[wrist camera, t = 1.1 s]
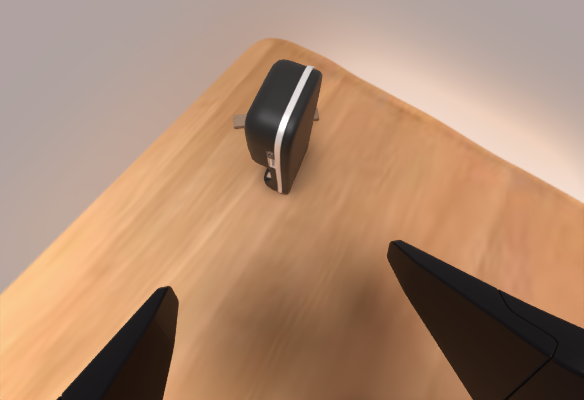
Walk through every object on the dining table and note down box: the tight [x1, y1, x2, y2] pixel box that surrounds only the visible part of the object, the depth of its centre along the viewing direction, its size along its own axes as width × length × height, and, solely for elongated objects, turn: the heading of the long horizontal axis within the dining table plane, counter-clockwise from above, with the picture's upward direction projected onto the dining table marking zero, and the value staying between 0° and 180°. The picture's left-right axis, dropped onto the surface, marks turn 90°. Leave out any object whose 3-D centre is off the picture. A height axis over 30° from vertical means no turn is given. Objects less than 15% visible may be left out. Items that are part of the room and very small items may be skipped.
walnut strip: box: [233, 108, 319, 129], centre depth 26 cm, size 10×2×1 cm, turn 98°
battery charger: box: [245, 59, 322, 194], centre depth 20 cm, size 7×4×11 cm, turn 159°
